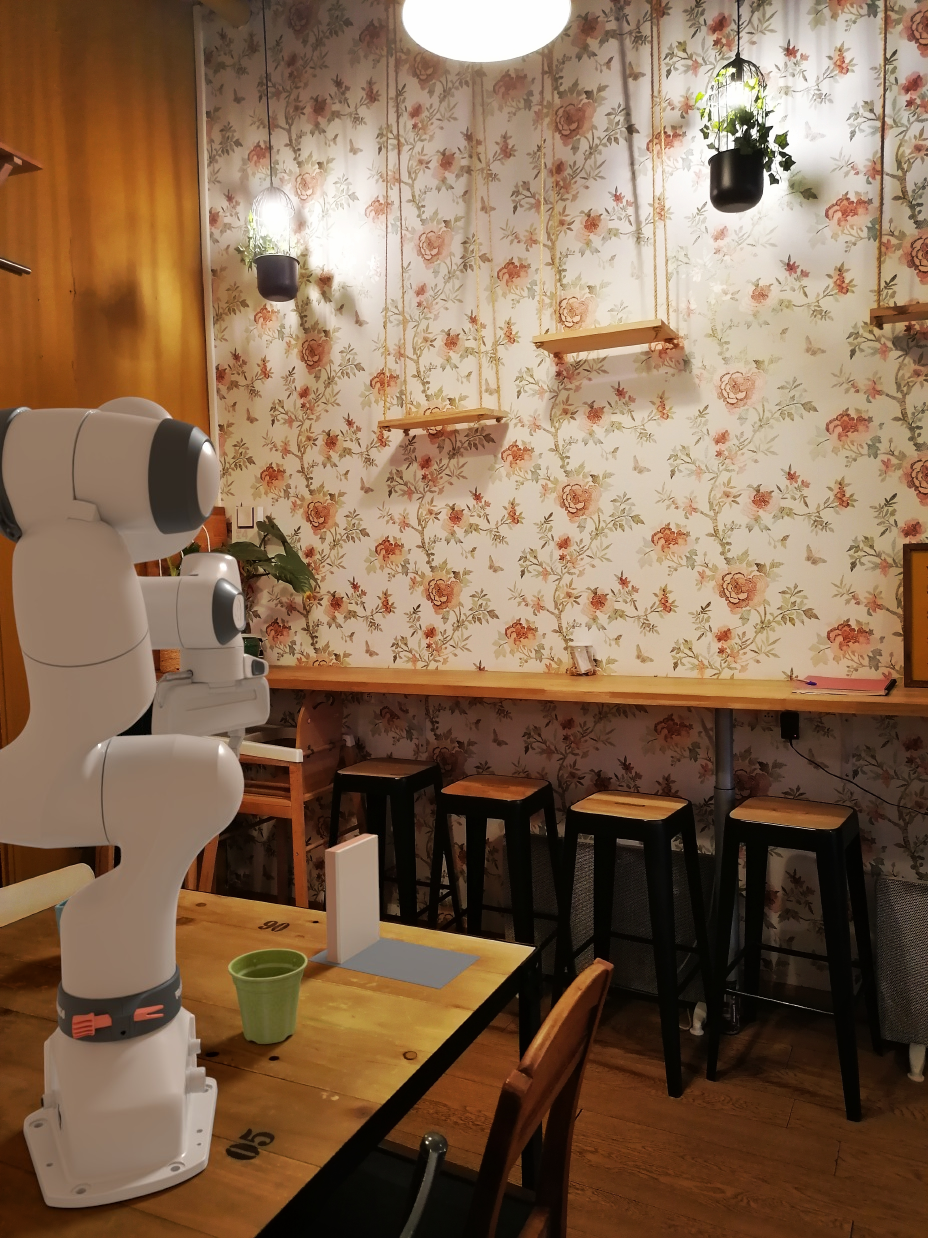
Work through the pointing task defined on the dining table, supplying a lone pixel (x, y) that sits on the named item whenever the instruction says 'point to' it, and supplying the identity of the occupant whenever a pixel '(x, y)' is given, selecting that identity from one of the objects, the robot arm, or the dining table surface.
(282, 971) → the plant pot
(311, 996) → the dining table surface
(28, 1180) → the dining table surface
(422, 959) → the mat
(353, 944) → the tile
